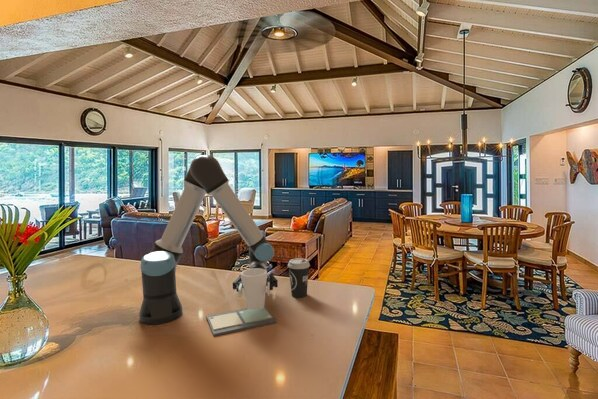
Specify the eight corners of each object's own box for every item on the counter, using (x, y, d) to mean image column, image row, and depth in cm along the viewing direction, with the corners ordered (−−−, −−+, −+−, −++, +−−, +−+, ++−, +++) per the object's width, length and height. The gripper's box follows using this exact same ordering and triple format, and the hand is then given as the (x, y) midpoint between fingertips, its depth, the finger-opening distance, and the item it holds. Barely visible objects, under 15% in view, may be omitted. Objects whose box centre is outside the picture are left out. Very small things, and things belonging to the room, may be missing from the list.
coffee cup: (301, 301, 142) (300, 265, 140) (283, 296, 147) (282, 261, 146) (314, 293, 149) (314, 260, 148) (297, 289, 155) (296, 256, 153)
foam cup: (240, 303, 130) (238, 270, 128) (264, 299, 133) (263, 266, 132) (245, 313, 121) (244, 277, 120) (271, 309, 124) (269, 274, 123)
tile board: (213, 336, 114) (213, 332, 114) (206, 318, 127) (206, 315, 127) (276, 322, 123) (276, 319, 123) (263, 307, 136) (262, 304, 136)
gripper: (283, 279, 145) (285, 301, 123) (230, 282, 144) (222, 304, 121) (283, 262, 144) (284, 280, 122) (229, 265, 143) (221, 283, 121)
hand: (254, 292), depth 122 cm, fingers closed on foam cup, 9 cm apart
